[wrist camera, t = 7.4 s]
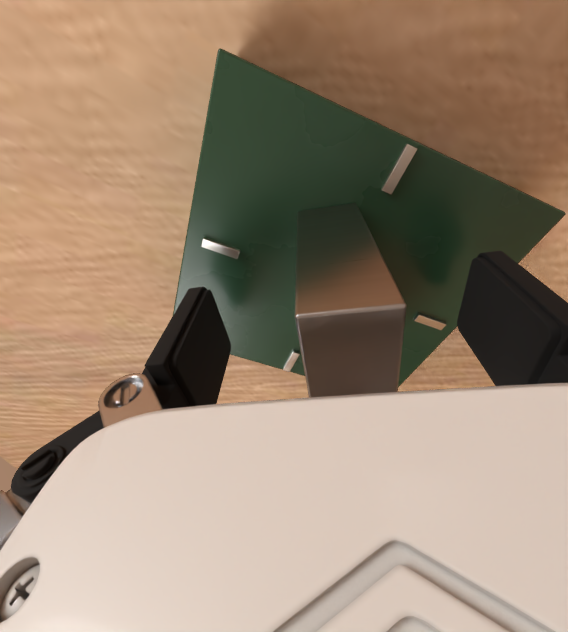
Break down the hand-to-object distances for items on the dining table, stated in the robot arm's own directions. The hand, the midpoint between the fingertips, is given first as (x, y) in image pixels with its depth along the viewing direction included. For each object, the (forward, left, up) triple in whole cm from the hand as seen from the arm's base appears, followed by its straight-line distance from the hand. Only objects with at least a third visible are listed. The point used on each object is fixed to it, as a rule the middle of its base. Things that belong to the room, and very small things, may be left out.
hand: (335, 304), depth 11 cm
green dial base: (0, 0, -4) cm, 4 cm away
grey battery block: (0, 0, -1) cm, 1 cm away
